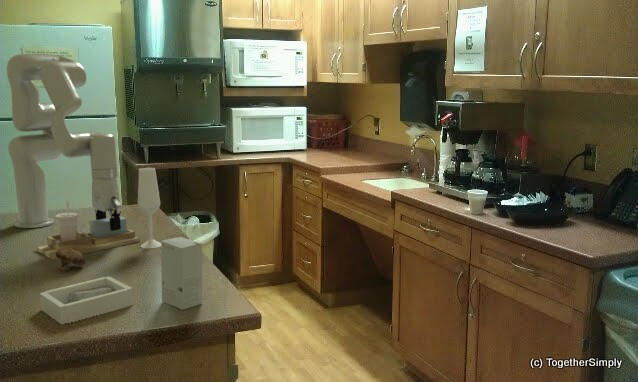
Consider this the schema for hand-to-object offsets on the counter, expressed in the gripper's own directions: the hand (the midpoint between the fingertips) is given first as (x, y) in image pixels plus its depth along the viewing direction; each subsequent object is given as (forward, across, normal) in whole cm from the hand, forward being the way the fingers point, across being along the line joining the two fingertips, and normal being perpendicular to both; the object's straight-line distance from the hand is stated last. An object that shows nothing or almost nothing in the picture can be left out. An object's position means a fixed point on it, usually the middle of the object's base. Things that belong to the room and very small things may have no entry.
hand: (108, 227), depth 193 cm
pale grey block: (+4, 0, 0) cm, 4 cm away
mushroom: (+5, +18, -20) cm, 27 cm away
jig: (+5, 0, -6) cm, 8 cm away
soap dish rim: (+5, +49, -28) cm, 57 cm away
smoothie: (+4, 0, -12) cm, 13 cm away
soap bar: (+5, +47, -26) cm, 54 cm away
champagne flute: (+5, +13, +8) cm, 16 cm away
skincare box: (+5, +62, -12) cm, 63 cm away
